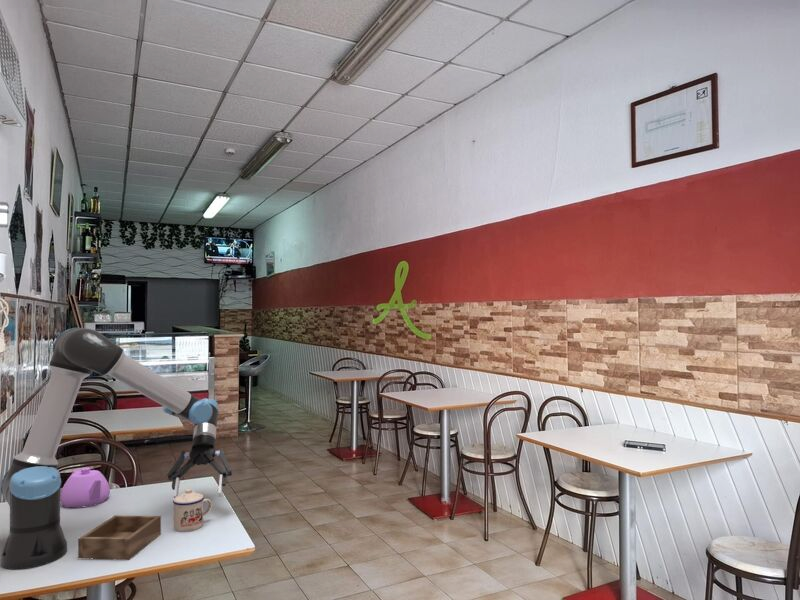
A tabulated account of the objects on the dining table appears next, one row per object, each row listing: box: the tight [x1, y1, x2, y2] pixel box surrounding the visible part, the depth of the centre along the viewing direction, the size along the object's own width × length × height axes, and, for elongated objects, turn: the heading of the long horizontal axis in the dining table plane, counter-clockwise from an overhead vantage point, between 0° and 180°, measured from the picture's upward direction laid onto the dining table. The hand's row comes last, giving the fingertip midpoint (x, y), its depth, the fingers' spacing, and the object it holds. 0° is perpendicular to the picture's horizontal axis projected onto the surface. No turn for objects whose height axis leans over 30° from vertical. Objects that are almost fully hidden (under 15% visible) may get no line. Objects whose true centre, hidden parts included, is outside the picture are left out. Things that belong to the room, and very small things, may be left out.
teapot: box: [60, 466, 111, 508], centre depth 197 cm, size 22×16×12 cm
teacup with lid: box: [172, 488, 213, 533], centre depth 173 cm, size 12×9×12 cm
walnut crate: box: [77, 515, 162, 561], centre depth 158 cm, size 14×17×6 cm
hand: (197, 496), depth 177 cm, fingers open, 13 cm apart
